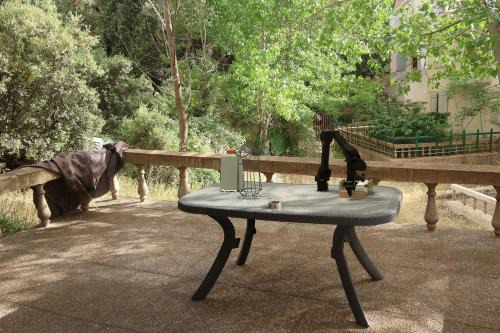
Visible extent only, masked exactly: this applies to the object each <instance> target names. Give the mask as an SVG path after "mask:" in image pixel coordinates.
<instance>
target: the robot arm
mask: <svg viewBox="0 0 500 333" xmlns="http://www.w3.org/2000/svg"><path fill="white" fill-rule="evenodd" d="M319 141H320V143H321V145H322V146H321V156H320V166H319V167H318V169H317V173H316V175H315V176H314V178H313V179H314V182H316V190H315V191H316V192H327V191H328V190H329V183H328V182H330V180H331V176H332V169H330V166H329V164H330V151H331V144H332V143H333V141H335V142H336V143H337V144H338V146H339V147H340V148H341V150H342V154H343V156H344V158H345V159H344V160H343V162H344V163H346V165H345V166H346V171H345V174H346V178H345V181H344V182H343V186H344V187H345V189H346V191H347V193H348V195H349V197H351V196H352V190H357V189H356V187H357V185H358V184H359V183H365V182H366V180H367V175H366V173H364V172H365V171H366V170H367V168H368V167H367V166H368V164H367V163H366V162H365V159H363V158H362V157H361V154H360V153H359V151H358V149H357V148H356V147H355V146H353V145H351V144H349V142H348V141H347V140H346V138H345V137H343V135H342V134H341V132H340V131H339V130H338V129H335V130H334V129H333V130H332V129H329V130H328V129H327V130H321V131H320V132H319ZM359 172H362V173H359Z"/></svg>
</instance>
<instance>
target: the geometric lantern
mask: <svg viewBox="0 0 500 333" xmlns="http://www.w3.org/2000/svg"><path fill="white" fill-rule="evenodd" d="M247 146H248V148H249V149H248V150H247ZM233 150H234V151H233V153H234V154H235V155H237V157H240V158H241V159H242V164H243V170H245V169H246V168H245V167H246V166H245V165H246V164H247V166H248V165H249V166H252V169H251V167H249V170H248V169H246V184H247V185H246V186H247V187H245V188H244V186H243V189H241V190H242V191H240V190H239V164H241V163H239V161H238V170H237V192H236V193H239V194H240V195H241V198H242V197H244V196H245V195H247V194H248V195H249V193H251V195H252V196H251V198H252V197H253V198H254V196H257V195H258V196H259V194H260V192H261V191H263V186H262V179H261V170H260V169H261V168H260V154H261V153H262V152H263V149H262V148H260V147H258V146H256V145H255V144H253V143H251V142H249V141H248V142H247V141H246V142H245V143H243V145H240V146H239V147H237V148H235V149H233ZM238 153H239V155H238ZM242 153H243V156H242ZM245 154H246V155H245ZM247 156H249V158H247ZM252 156H253V157H254V158H253V159H252V161H249V160H250V158H251V157H252ZM257 157H258V160H257ZM243 158H245V159H246V162H245V161H244V160H243ZM239 160H240V159H239ZM254 160H255V161H254ZM254 165H257V169H258V185H259V186H258V187H259V188H258V187H256V180H255V170H254ZM248 171H249V173H248ZM251 171H252V172H251ZM248 174H249V177H248ZM252 174H253V184H254V185H252V184H250V187H249V179H250V183H252ZM252 186H254V188H253V187H252ZM246 190H247V191H246ZM249 190H250V191H249Z"/></svg>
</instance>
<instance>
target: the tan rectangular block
mask: <svg viewBox="0 0 500 333" xmlns="http://www.w3.org/2000/svg"><path fill="white" fill-rule="evenodd" d="M357 190H358V189H355V190H352V196H351V197H349V195H348V193H347V191H346V190H341V191H340V192H338V193H339V194H338V197H339V198H340V199H358V200H361V199H362V200H363V199H364V198H365V197H366V195H365V191H357Z"/></svg>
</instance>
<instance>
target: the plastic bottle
mask: <svg viewBox="0 0 500 333" xmlns="http://www.w3.org/2000/svg"><path fill="white" fill-rule="evenodd" d="M234 150H235V149H226V153H224V154H222V155H221V156H220V190H221V189H224V190H237V170H238V161H239V163H241V164H239V190H241V189H243V186H244V187H245V188H246V184H245V183H246V182H245V174H244V165H243V161H242V160H243V158H242V159H241V158H240V157H237V155H235V154H234V153H233V151H234ZM238 155H239V153H238ZM239 159H240V160H239ZM243 190H244V189H243Z"/></svg>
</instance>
